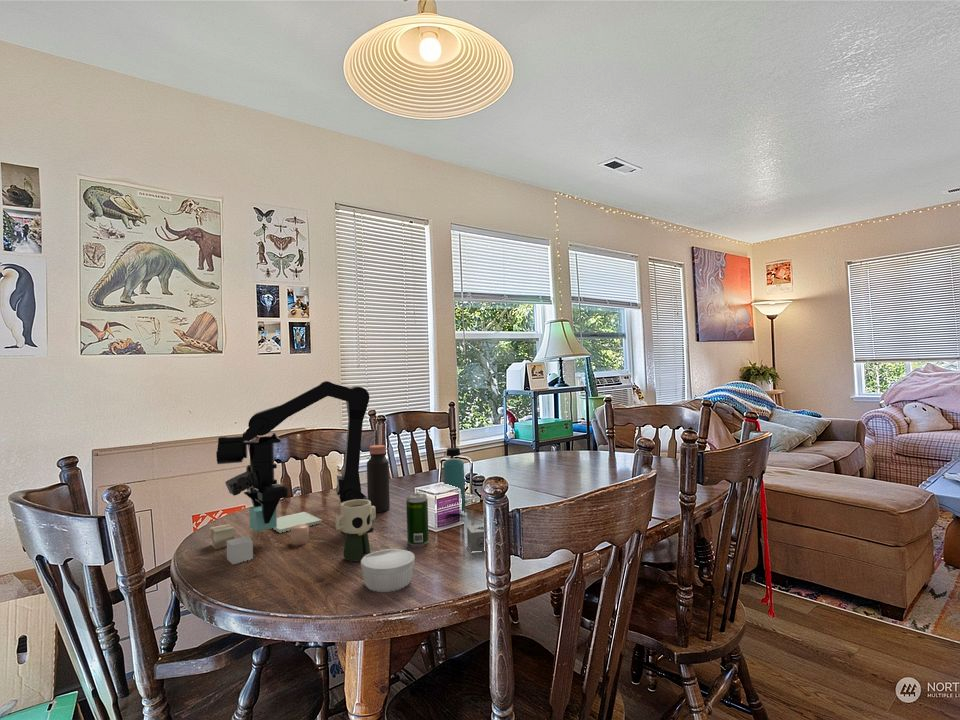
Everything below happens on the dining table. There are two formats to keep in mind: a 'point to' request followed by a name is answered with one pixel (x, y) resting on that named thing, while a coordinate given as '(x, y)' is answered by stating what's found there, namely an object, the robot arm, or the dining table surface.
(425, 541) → the beer can
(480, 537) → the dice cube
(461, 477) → the beverage bottle
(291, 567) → the dining table surface
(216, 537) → the birch block
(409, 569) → the ramekin
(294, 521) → the sage pad
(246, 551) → the grey plastic block
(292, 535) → the terracotta cylinder
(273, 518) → the teal block
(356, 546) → the character mug
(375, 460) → the dark water bottle
